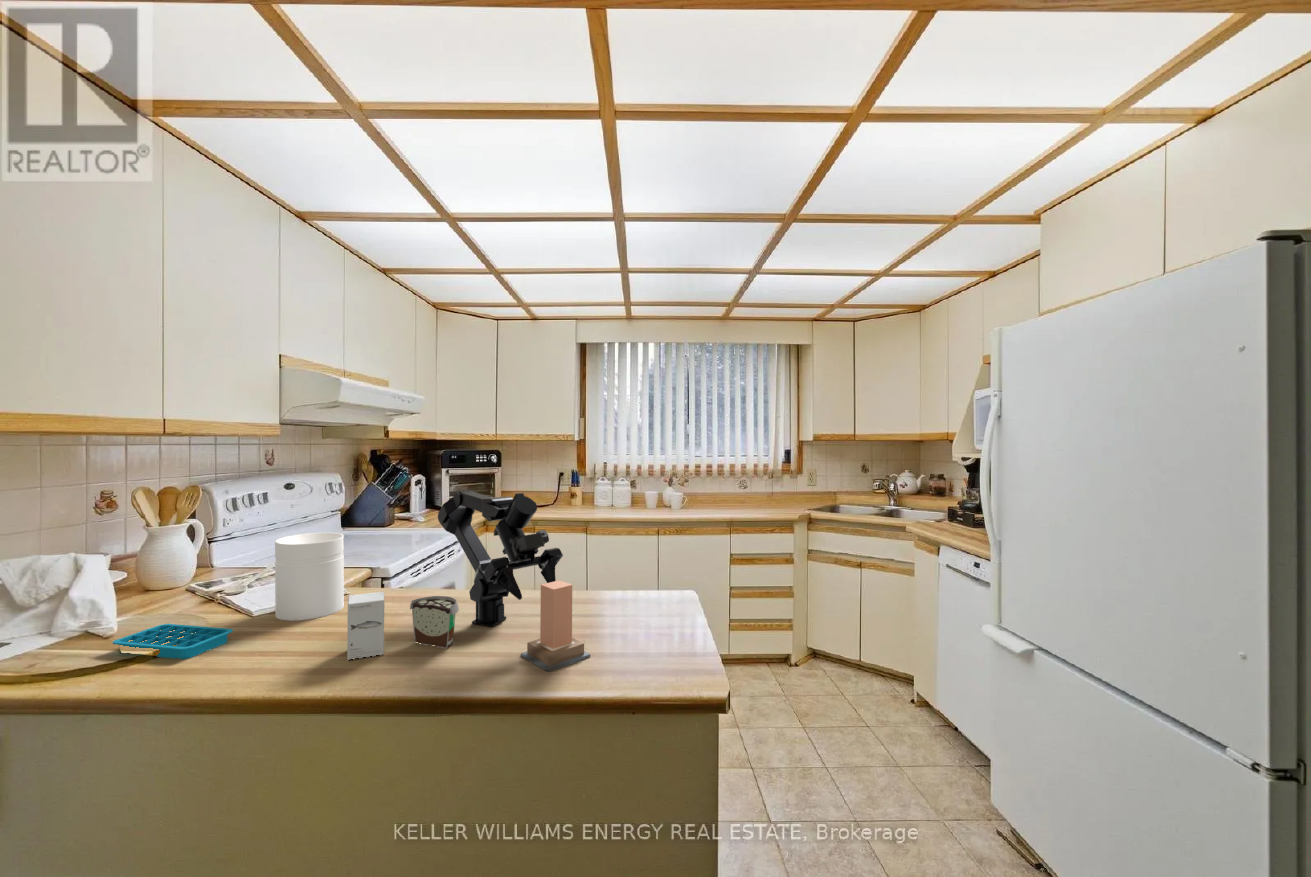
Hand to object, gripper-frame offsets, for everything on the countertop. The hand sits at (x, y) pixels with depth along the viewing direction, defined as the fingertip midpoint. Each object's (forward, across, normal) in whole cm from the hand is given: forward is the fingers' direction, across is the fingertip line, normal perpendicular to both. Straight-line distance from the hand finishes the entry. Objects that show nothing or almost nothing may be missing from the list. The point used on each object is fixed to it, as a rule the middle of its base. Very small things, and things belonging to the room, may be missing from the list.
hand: (538, 594), depth 126 cm
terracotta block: (+12, 0, +1) cm, 12 cm away
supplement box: (-8, -30, +26) cm, 40 cm away
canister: (-36, -32, +55) cm, 73 cm away
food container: (-4, -15, +22) cm, 27 cm away
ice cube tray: (-31, -60, +50) cm, 84 cm away
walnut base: (+14, 0, +4) cm, 14 cm away
